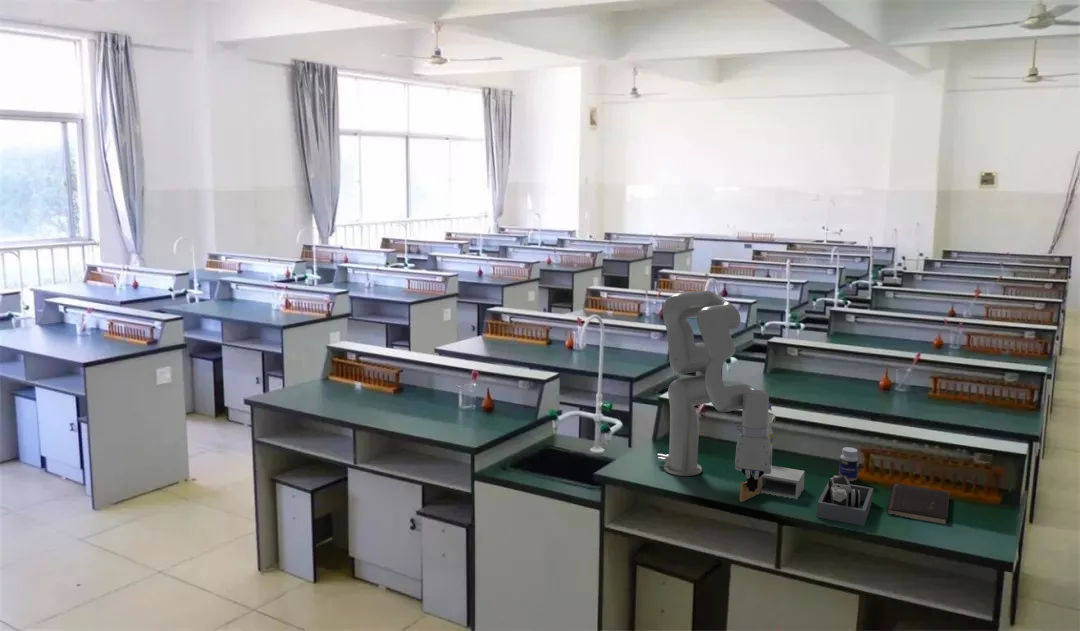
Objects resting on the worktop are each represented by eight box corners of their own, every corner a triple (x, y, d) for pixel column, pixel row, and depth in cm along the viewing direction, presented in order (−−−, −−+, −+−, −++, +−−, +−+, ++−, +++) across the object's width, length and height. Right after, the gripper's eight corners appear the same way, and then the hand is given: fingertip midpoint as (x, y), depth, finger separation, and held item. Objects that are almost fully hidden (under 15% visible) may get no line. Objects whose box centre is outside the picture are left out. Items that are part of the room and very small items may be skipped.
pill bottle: (838, 480, 275) (840, 450, 273) (839, 474, 280) (841, 445, 278) (856, 482, 273) (859, 453, 271) (857, 476, 278) (859, 447, 276)
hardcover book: (948, 499, 261) (949, 492, 260) (946, 526, 240) (947, 518, 240) (892, 490, 268) (893, 483, 267) (886, 516, 248) (887, 508, 247)
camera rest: (816, 517, 245) (817, 502, 244) (827, 494, 262) (828, 480, 261) (864, 525, 239) (865, 510, 238) (872, 502, 256) (873, 488, 255)
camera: (861, 522, 241) (864, 489, 239) (829, 519, 243) (832, 486, 242) (855, 502, 256) (857, 470, 255) (825, 499, 258) (827, 468, 257)
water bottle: (779, 471, 282) (783, 398, 278) (761, 476, 278) (765, 402, 273) (759, 464, 289) (763, 393, 285) (742, 468, 284) (746, 396, 280)
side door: (758, 491, 263) (759, 474, 262) (761, 492, 262) (762, 475, 261) (739, 501, 255) (740, 483, 255) (742, 501, 255) (743, 484, 254)
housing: (758, 492, 263) (759, 474, 262) (765, 482, 272) (766, 464, 271) (797, 499, 258) (798, 480, 257) (803, 489, 266) (804, 470, 265)
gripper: (726, 431, 251) (724, 490, 254) (778, 437, 245) (775, 498, 248) (731, 425, 258) (729, 483, 261) (781, 431, 252) (779, 489, 255)
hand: (752, 490), depth 254 cm, fingers closed
